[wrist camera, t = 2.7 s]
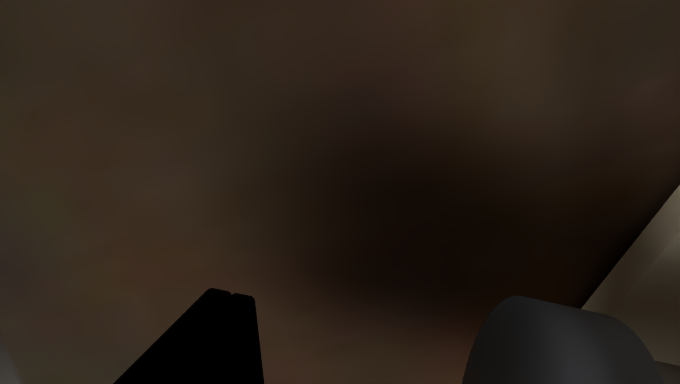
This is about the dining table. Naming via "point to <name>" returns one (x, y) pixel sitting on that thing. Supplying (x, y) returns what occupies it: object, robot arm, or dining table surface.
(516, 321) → the shaft
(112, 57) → the dining table surface
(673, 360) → the bench
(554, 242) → the dining table surface
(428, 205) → the dining table surface
